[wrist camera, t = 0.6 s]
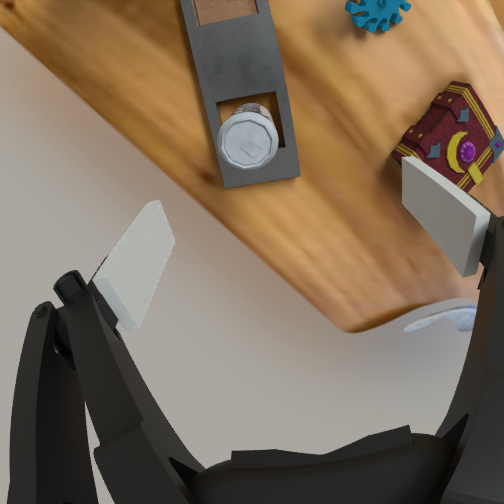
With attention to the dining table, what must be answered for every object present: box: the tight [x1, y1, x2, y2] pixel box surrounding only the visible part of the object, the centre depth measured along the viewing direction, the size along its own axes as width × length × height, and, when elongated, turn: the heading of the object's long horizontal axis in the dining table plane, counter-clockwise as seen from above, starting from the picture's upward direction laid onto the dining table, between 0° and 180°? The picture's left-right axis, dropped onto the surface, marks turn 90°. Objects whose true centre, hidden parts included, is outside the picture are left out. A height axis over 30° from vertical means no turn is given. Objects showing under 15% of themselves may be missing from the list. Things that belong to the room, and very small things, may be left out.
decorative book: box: [391, 81, 504, 193], centre depth 27 cm, size 11×16×5 cm
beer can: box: [217, 103, 278, 170], centre depth 25 cm, size 5×5×12 cm
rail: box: [180, 0, 301, 189], centre depth 25 cm, size 30×9×2 cm, turn 11°
